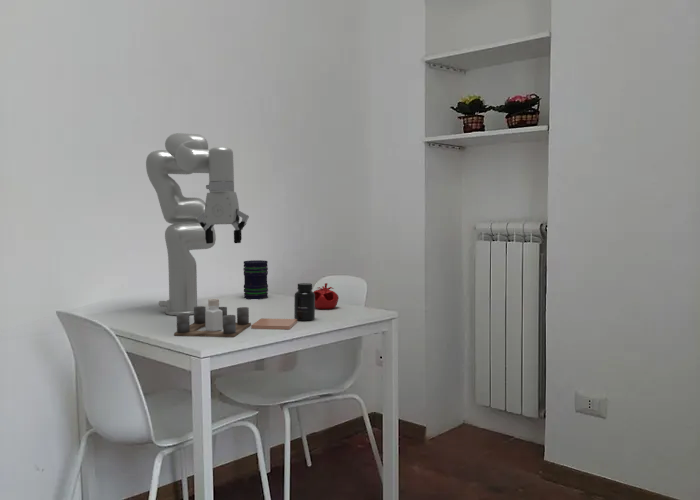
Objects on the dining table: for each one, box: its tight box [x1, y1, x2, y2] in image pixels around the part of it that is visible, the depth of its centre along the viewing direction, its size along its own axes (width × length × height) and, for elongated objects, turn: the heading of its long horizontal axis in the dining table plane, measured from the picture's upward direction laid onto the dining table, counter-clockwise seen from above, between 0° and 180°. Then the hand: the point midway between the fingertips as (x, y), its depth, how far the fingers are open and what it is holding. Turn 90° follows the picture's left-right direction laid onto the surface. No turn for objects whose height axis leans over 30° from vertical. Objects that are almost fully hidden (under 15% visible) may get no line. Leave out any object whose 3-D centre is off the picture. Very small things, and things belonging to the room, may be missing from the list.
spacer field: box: [173, 305, 252, 338], centre depth 195 cm, size 18×18×6 cm
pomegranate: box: [313, 282, 339, 310], centre depth 237 cm, size 10×10×9 cm
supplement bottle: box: [293, 282, 316, 322], centre depth 213 cm, size 7×7×12 cm
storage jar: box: [242, 259, 269, 300], centre depth 262 cm, size 10×10×15 cm
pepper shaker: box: [205, 298, 223, 331], centre depth 195 cm, size 4×4×10 cm
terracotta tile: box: [250, 317, 298, 330], centre depth 204 cm, size 12×12×1 cm
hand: (223, 243), depth 200 cm, fingers open, 9 cm apart
